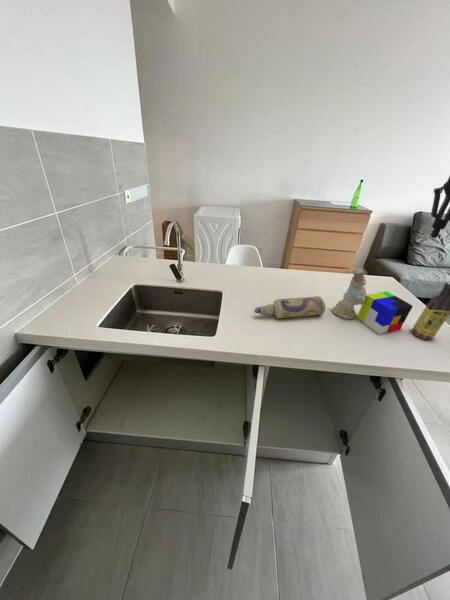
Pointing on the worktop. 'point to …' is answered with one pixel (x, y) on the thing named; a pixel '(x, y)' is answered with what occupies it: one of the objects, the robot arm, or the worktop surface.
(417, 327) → the sauce bottle
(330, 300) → the worktop surface
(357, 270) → the figurine
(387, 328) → the puzzle toy
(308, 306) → the decorative bottle
